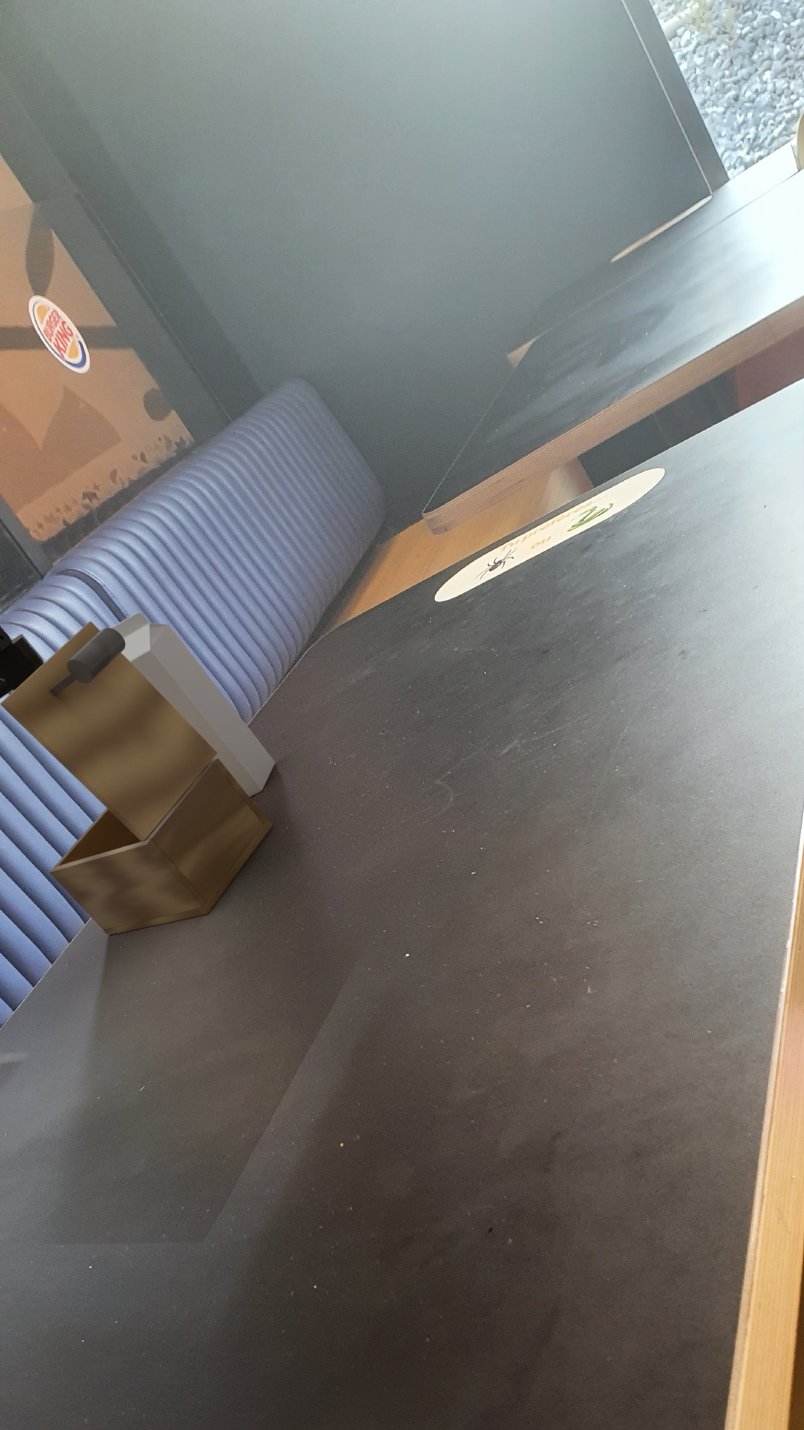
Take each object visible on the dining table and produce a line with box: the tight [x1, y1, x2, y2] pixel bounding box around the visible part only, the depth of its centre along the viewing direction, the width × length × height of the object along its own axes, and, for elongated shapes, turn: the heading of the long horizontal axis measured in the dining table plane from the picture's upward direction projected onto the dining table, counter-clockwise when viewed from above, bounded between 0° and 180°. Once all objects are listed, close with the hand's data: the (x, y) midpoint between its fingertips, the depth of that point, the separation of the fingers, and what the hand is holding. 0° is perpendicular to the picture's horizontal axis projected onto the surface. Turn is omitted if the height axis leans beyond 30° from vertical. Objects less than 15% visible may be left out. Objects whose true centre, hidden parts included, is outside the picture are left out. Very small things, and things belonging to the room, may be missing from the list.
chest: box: [48, 759, 273, 936], centre depth 114 cm, size 16×13×9 cm
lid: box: [0, 620, 217, 841], centre depth 102 cm, size 16×13×7 cm
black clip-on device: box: [0, 633, 45, 700], centre depth 105 cm, size 5×7×3 cm, turn 115°
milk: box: [111, 611, 276, 798], centre depth 123 cm, size 6×6×22 cm
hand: (6, 689), depth 105 cm, fingers closed on black clip-on device, 5 cm apart
